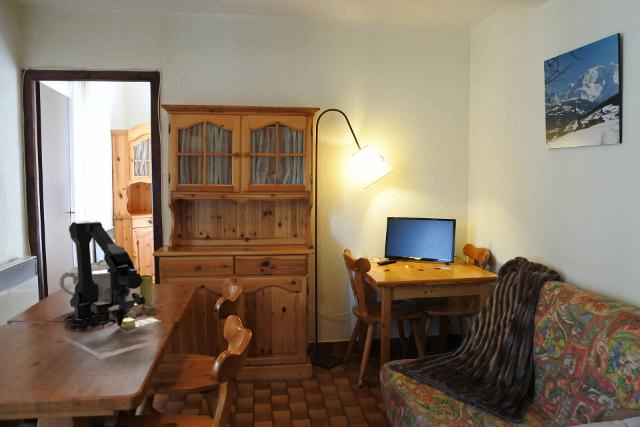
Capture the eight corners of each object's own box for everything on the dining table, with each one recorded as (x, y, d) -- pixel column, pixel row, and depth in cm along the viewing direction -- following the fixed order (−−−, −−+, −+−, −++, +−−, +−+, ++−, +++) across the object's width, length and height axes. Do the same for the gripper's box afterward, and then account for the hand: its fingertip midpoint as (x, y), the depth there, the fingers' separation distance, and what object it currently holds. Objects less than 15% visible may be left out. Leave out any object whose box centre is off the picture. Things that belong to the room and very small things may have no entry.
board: (127, 332, 184) (127, 329, 184) (118, 328, 189) (118, 325, 189) (161, 324, 195) (161, 320, 195) (151, 320, 199) (151, 317, 199)
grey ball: (129, 321, 197) (129, 312, 197) (125, 319, 200) (125, 311, 199) (138, 319, 200) (137, 311, 200) (133, 317, 202) (133, 309, 202)
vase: (149, 310, 213) (148, 277, 212) (136, 309, 214) (135, 277, 213) (156, 306, 219) (156, 274, 218) (144, 305, 220) (143, 274, 219)
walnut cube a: (116, 323, 195) (116, 313, 194) (109, 322, 196) (109, 312, 196) (124, 321, 198) (124, 311, 198) (117, 319, 200) (117, 310, 200)
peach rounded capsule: (133, 318, 202) (133, 306, 201) (127, 315, 205) (126, 304, 205) (144, 315, 206) (144, 303, 205) (138, 313, 209) (138, 301, 208)
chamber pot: (148, 298, 233) (147, 254, 231) (119, 315, 206) (118, 265, 204) (92, 296, 236) (90, 253, 234) (55, 312, 209) (54, 263, 207)
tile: (125, 328, 185) (125, 322, 185) (120, 326, 188) (119, 319, 187) (135, 326, 188) (135, 319, 188) (130, 323, 191) (129, 317, 190)
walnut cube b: (145, 317, 203) (145, 308, 203) (144, 315, 207) (143, 305, 206) (155, 316, 205) (155, 307, 205) (153, 314, 208) (153, 304, 208)
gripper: (103, 293, 172) (104, 337, 173) (152, 284, 186) (153, 325, 187) (89, 287, 179) (90, 330, 180) (137, 279, 193) (138, 318, 194)
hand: (119, 326), depth 185 cm, fingers closed
